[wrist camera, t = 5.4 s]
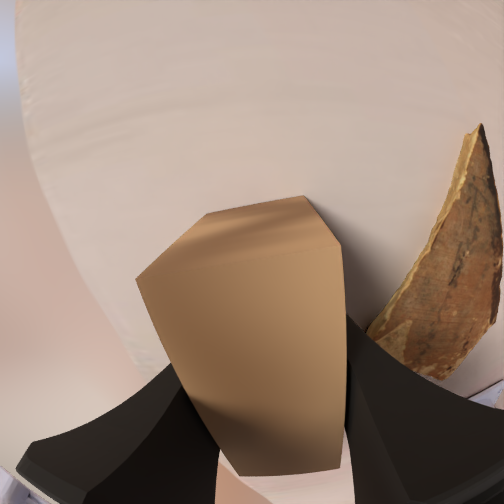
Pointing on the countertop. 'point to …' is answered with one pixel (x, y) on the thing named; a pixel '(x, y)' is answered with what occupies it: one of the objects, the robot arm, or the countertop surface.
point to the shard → (450, 274)
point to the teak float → (258, 333)
